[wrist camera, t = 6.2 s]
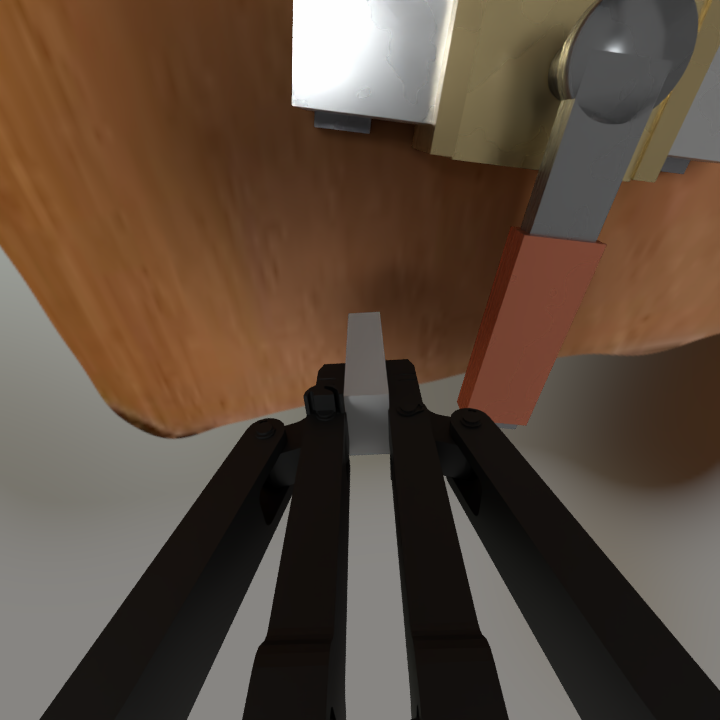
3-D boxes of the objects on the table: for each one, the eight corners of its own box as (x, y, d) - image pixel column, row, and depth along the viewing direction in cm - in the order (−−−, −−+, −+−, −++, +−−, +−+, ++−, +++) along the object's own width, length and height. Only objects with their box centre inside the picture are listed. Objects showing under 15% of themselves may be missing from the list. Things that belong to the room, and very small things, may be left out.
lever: (580, -22, 12) (607, -40, 10) (691, -4, 12) (732, -20, 10) (451, 408, 20) (457, 427, 19) (516, 414, 20) (526, 433, 19)
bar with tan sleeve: (308, 135, 22) (278, 140, 14) (314, -29, 19) (278, -155, 10) (663, 180, 24) (827, 209, 15) (733, 34, 20) (999, -32, 12)
